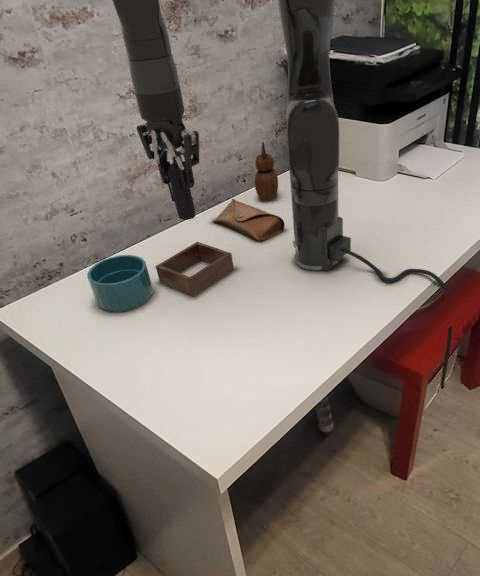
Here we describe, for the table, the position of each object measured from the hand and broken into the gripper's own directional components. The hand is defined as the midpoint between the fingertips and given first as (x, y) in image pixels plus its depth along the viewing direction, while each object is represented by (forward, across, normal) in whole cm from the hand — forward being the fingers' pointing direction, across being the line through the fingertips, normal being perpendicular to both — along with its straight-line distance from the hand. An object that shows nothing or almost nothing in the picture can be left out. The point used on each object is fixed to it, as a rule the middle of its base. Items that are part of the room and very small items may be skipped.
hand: (178, 184), depth 98 cm
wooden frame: (+20, 0, 0) cm, 20 cm away
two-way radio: (+7, 0, 0) cm, 7 cm away
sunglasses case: (+20, +6, -23) cm, 31 cm away
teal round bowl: (+20, +7, +14) cm, 25 cm away
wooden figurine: (+20, +12, -38) cm, 45 cm away
